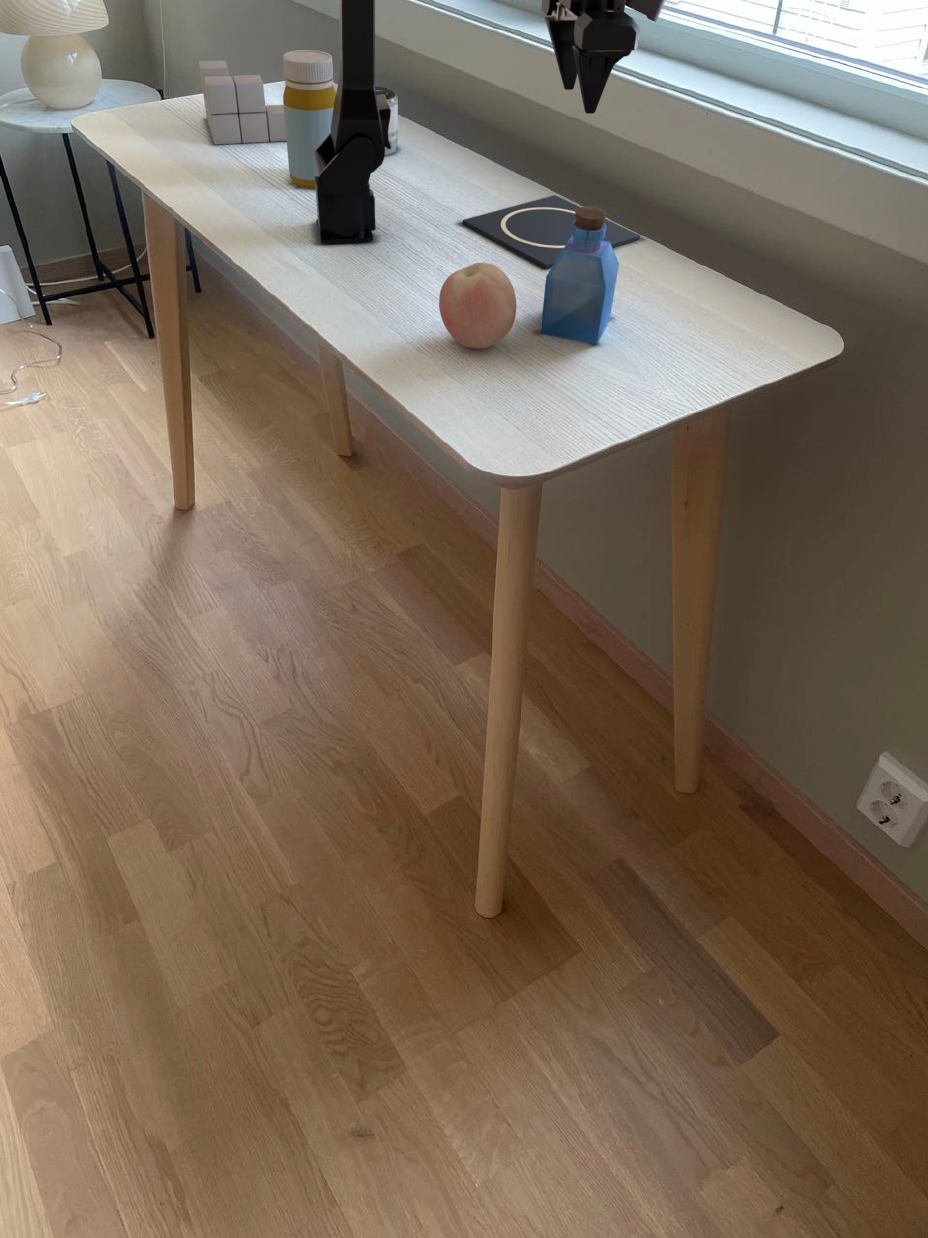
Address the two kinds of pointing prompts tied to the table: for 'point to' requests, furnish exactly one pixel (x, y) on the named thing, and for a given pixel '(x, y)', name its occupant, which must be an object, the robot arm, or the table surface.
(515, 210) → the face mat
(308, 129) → the bottle
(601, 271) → the perfume bottle
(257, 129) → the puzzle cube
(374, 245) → the table surface
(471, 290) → the apple
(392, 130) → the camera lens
